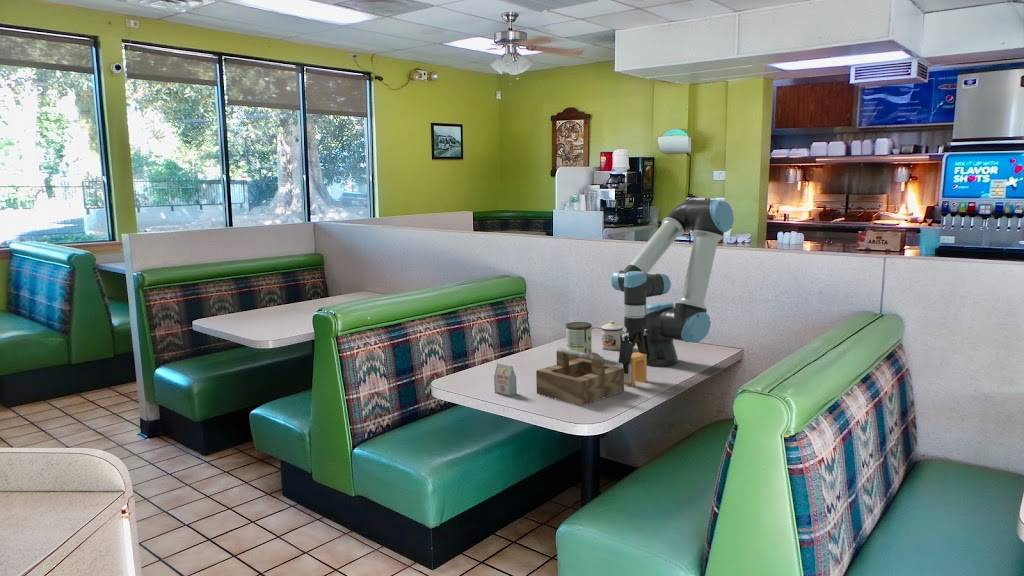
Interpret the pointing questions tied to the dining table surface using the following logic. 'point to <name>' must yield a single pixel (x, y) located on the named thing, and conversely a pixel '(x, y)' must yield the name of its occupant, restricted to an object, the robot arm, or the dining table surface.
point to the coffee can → (578, 336)
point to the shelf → (579, 378)
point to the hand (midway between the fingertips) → (634, 379)
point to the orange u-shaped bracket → (638, 368)
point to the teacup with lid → (611, 336)
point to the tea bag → (505, 380)
